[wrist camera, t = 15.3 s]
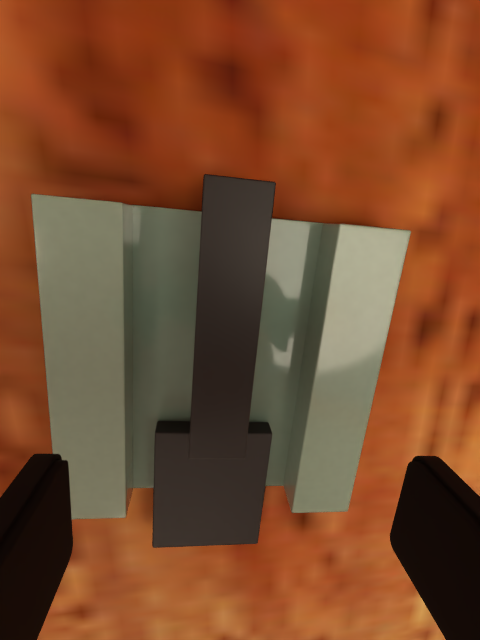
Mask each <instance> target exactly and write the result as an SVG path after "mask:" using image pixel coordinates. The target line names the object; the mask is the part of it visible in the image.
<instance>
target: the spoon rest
mask: <svg viewBox="0 0 480 640" xmlns="http://www.w3.org/2000/svg"><path fill="white" fill-rule="evenodd" d="M31 199H32V211H33V223H34V235H35V247H36V259H37V271H38V283H39V295H40V307H41V319H42V331H43V343H44V355H45V367H46V379H47V391H48V403H49V415H50V427H51V439H52V451H53V454H60V455H61V458H62V460H67V461H68V465H69V482H70V500H71V517H72V519H98V518H126V515H127V511H128V507H129V503H130V499H131V495H132V491H133V488H154V444H155V429H156V425H157V422H158V421H190V415H191V397H192V378H193V360H194V342H195V324H196V305H197V287H198V269H199V250H200V232H201V214H202V211H192V210H181V209H171V208H161V207H150V206H140V205H131V204H126V203H122V202H112V201H102V200H91V199H81V198H70V197H60V196H50V195H39V194H31ZM410 233H411V231H410V230H402V229H392V228H382V227H371V226H361V225H350V224H338V223H317V222H307V221H296V220H286V219H275V218H272V222H271V231H270V240H269V249H268V258H267V267H266V275H265V284H264V293H263V302H262V311H261V320H260V329H259V338H258V347H257V356H256V365H255V374H254V383H253V392H252V400H251V409H250V418H249V422H268V423H269V425H270V428H271V431H272V441H271V448H270V456H269V463H268V470H267V478H266V485H265V486H284V489H285V493H286V496H287V499H288V502H289V506H290V509H291V512H292V513H309V512H345V511H348V508H349V503H350V499H351V494H352V490H353V486H354V481H355V477H356V472H357V468H358V463H359V459H360V455H361V450H362V446H363V441H364V437H365V432H366V428H367V424H368V419H369V415H370V410H371V406H372V401H373V397H374V393H375V388H376V384H377V379H378V375H379V370H380V366H381V362H382V357H383V353H384V348H385V344H386V339H387V335H388V331H389V326H390V322H391V317H392V313H393V308H394V304H395V300H396V295H397V291H398V286H399V282H400V277H401V273H402V269H403V264H404V260H405V255H406V251H407V246H408V242H409V238H410Z"/></svg>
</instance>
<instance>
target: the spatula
mask: <svg viewBox="0 0 480 640" xmlns="http://www.w3.org/2000/svg"><path fill="white" fill-rule="evenodd" d="M275 186H276V183H275V182H270V181H262V180H253V179H244V178H235V177H226V176H217V175H208V174H205V175H204V179H203V195H202V214H201V232H200V250H199V269H198V287H197V305H196V324H195V342H194V360H193V378H192V397H191V415H190V421H158V422H157V425H156V429H155V444H154V493H153V542H152V546H153V547H154V548H157V547H183V546H209V545H235V544H257V543H258V536H259V529H260V522H261V514H262V507H263V500H264V492H265V485H266V478H267V470H268V463H269V456H270V448H271V441H272V431H271V428H270V425H269V423H268V422H249V418H250V409H251V400H252V392H253V383H254V374H255V365H256V356H257V347H258V338H259V329H260V320H261V311H262V302H263V293H264V284H265V275H266V267H267V258H268V249H269V240H270V231H271V222H272V213H273V204H274V195H275Z"/></svg>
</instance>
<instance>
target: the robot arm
mask: <svg viewBox="0 0 480 640" xmlns="http://www.w3.org/2000/svg"><path fill="white" fill-rule="evenodd" d="M390 541H391V545H392V548H393V550H394V552H395V554H396V555H397V557H398V559H399V560H400V562H401V564H402V566H403V567H404V569H405V571H406V572H407V574H408V576H409V577H410V579H411V581H412V583H413V584H414V586H415V588H416V589H417V591H418V593H419V595H420V596H421V598H422V600H423V601H424V603H425V605H426V606H427V608H428V610H429V612H430V613H431V615H432V617H433V618H434V620H435V622H436V623H437V625H438V627H439V629H440V630H441V632H442V634H443V635H444V637H445V639H446V640H480V497H479V496H478V495H477V494H476V493H475V492H474V491H473V490H472V489H471V488H470V487H469V486H468V485H467V484H466V483H465V482H464V481H463V480H462V479H461V478H460V477H459V476H458V475H457V474H456V473H455V472H454V471H453V470H452V469H451V468H450V467H449V466H448V465H447V464H446V463H445V462H444V461H443V460H442V459H440V458H439V457H436V456H416V457H414V458H413V460H412V462H410V463H409V464H408V466H407V470H406V474H405V478H404V482H403V486H402V490H401V494H400V498H399V502H398V506H397V509H396V513H395V517H394V521H393V525H392V529H391V533H390ZM72 547H73V535H72V517H71V500H70V482H69V465H68V461H67V460H62V458H61V455H60V454H34V455H33V456H32V457H31V458H30V459H29V461H28V462H27V463H26V465H25V466H24V467H23V468H22V470H21V471H20V472H19V474H18V475H17V476H16V478H15V479H14V480H13V482H12V483H11V484H10V486H9V487H8V488H7V489H6V491H5V492H4V493H3V495H2V496H1V497H0V640H37V638H38V636H39V633H40V631H41V628H42V626H43V623H44V621H45V618H46V616H47V614H48V611H49V609H50V606H51V604H52V601H53V599H54V596H55V594H56V592H57V589H58V587H59V584H60V582H61V579H62V577H63V574H64V572H65V570H66V567H67V565H68V562H69V560H70V557H71V553H72Z"/></svg>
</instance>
